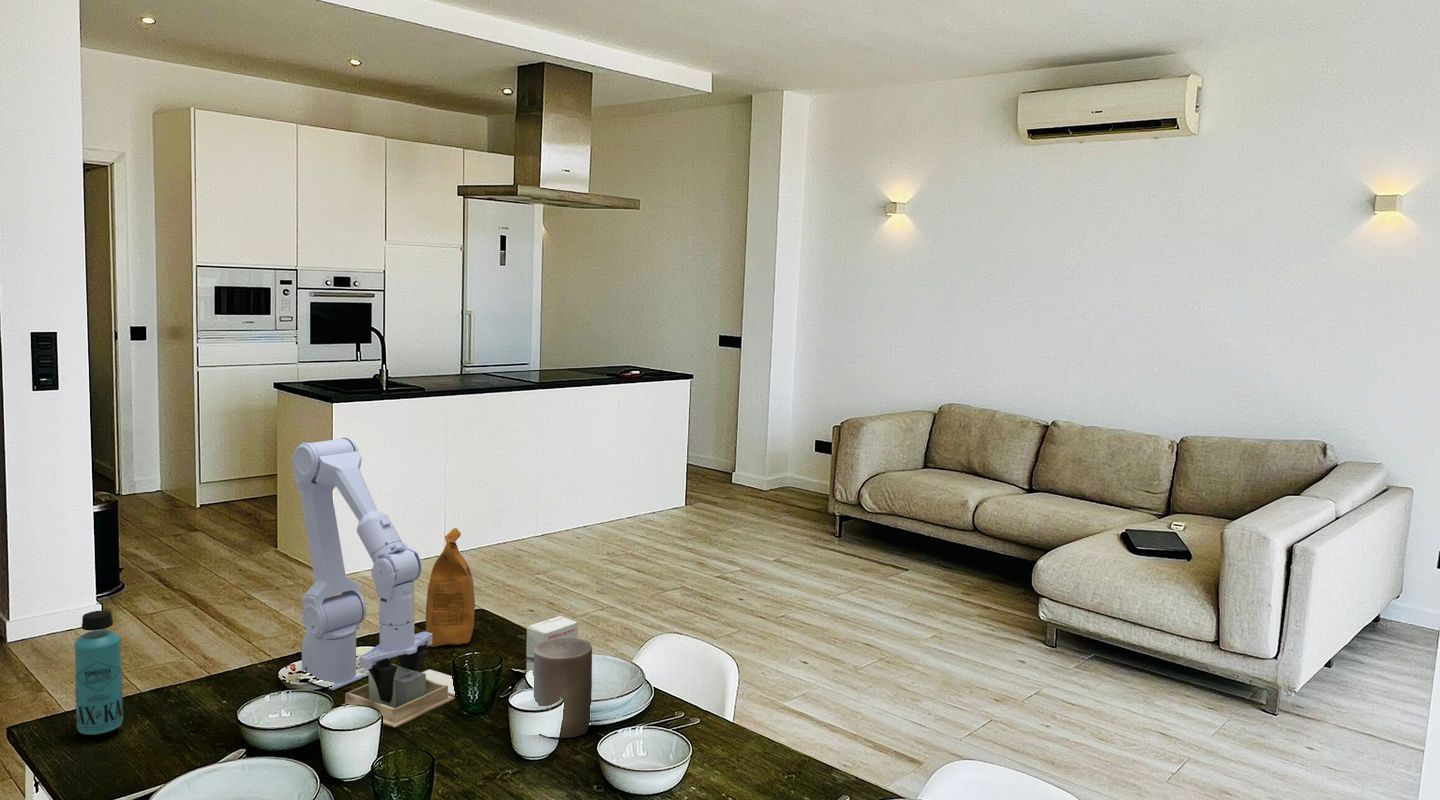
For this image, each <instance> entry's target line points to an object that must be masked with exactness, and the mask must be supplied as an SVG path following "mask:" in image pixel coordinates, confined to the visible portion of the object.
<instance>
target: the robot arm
mask: <svg viewBox="0 0 1440 800" xmlns="http://www.w3.org/2000/svg"><path fill="white" fill-rule="evenodd" d="M359 451H360V450H359V448H358V446H357V444H356V442H355V441H354V440H353V439H352V438H350V437H341V438H338V439H330V440H323V441H315V442H302V443H300V444H299V445H298V446H297V447H296V448H295V450H294V453H293V454H292V456H291V463H292V469H293V475H294V481H295V485H296V486H295V488H296V489H297V490H299V495H300V500H301V501H300V502H301V505H302V507H301V508H302V512H303V519H304V524H305V529H306V530H305V531H306V535H307V542H308V547H309V548H308V549H309V555H310V559H311V566H312V567H311V568H312V572H313V573H312V574H313V579H314V583H313V584H312V585H311V586H310V587H309V589H308V590H307V591H306V592H305V593H304V594H303V596H302V601H303V602H302V603H303V610H302V617H301V618H302V623H303V626H304V629H305V630H306V633H305V635H304V636H303V639H302V642H301V671H302V670H303V671H305V672H307V673H310V674H312V675H313V676H315V677H316V678H317V679H319V680H323V681H329V682H334V683H335V684H333V685H331V686H332V687H329V689H328V690H330V689H331V690H330V691H334V690H338V689H339V688H342V687H345V686H346V685H349V684H352V683H354V682H357V681H359V680H362V679H364V678H366V677H367V676H368V673H369V672H370V673H371V675H372V677H373V679H374V681H375V684H376V686H377V689H378V693H379V696H380V700H382V701H385V702H388V703H389V702H391V700H392V695H393V681H394V676H395V672H396V669H397V666H398V665H397V666H395V665H396V664H394V665H392V664H393V663H391V661H389V660H391V659H393V658H396V657H397V656H398V660H399V666H400V667H403V668H407V669H410V670H413V671H418V672H421V669H422V667H423V664H424V663H425V661H426V659H427V658H428V650H427V649H424V648H423V646H428V645H430V644H432V633H428V632H426V630H425V631H421V632H418V633H415V581H417V580H418V579H419V578H420V576H421V574H422V569H423V568H422V567H423V566H422V565H423V564H422V560H421V558H420V555H419V553H418V552H417V550H415V549H414V548H413V547H410V546H409V545H408V543H406V542H403V541H402V539H401V537H400V535H399V534H398V532H397V529H396V527H395V526H394V524H393V523H392V520H391V518H390V517H389V515H388V514H387V513H383V512H379V511H378V509H377V506H376V504H375V502H374V499H373V498H372V495H371V493H370V490H369V489H368V486H367V484H366V481H365V479H364V477H363V474H362V472H361V466H362V455H361V453H360V452H359ZM335 488H337V490H338V491H339V493H340V494H341V496H342V498H343V499H344V500H345V502H346V504H347V505H348V506H349V508H350V509H351V511H352V512H353V514H354V516H355V517H356V519H357V520H358V524H357V526H356V533H357V534H358V537H359V538H360V540H361V543H362V545H363V546H364V548H365V550H366V551H367V553H368V555H369V557H370V559H371V561H372V563H373V566H372V568H371V569H370V573H371V577H372V579H373V582H374V585H375V594H376V596H377V597H378V599H379V602H378V604H379V609H378V611H379V622H378V623H379V644H378V645H376V646H374V647H373V648H371V649H370V650H369V651H367V652H366V653H364V654H362V655H359V657H358V658H359V668H360V669H361V668H362V669H364V670H367V671H368V673H367V674H365V675H361V676H356V677H355V675H356V670H357V630H360V627H361V625H360V624H361V623H362V622H364V621H365V619H366V615H367V604H366V601H365V598H364V596H363V595H362V592H361V590H360V585H359V583H358V582H356V581H354V580H353V579H351V578H349V577H348V576H346V575H347V574H346V570H345V565H344V564H345V563H344V559H343V553H342V552H343V550H342V545H341V540H340V534H339V528H338V522H337V516H336V511H335V510H336V509H335V503H334V498H333V491H334V489H335ZM366 675H367V676H366ZM363 677H364V678H363Z"/></svg>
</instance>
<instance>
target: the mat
mask: <svg viewBox="0 0 1440 800" xmlns="http://www.w3.org/2000/svg"><path fill="white" fill-rule="evenodd" d="M421 673H425V674H426V679H428V680H431V681H434V682H437V683H440V684H444V685H447V686H448V695H449V696H452V697H455V691H454V686H453V679H452V675H449V674H447V673H443V672H440V671H436V670H432V669H426V670H425V671H422V672H421Z"/></svg>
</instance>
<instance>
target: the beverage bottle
mask: <svg viewBox="0 0 1440 800" xmlns="http://www.w3.org/2000/svg"><path fill="white" fill-rule="evenodd" d="M112 614H113V613H112V612H111V611H109V610H94V611H90V612H87V613H85V614H83V615H82V619H81V629H82V630H84V631H88V632H86V633H84V634H82V635H81V636H80V637H79V638H78V639H77V640H76V641H75V642H74V643H73V645H74V646H73V647H74V663H75V664H74V666H75V667H74V668H75V676H74V678H73V680H74V681H75V684H74V695H75V700H74V703H75V711H74V712H75V714H74V716H75V722H76V723H75V726H76V729H77V731H78V732H79V733H80V734H82V735H100V734H105V733H108V732H112V731H113V730H116V729H117V728H119V727H121V726H122V723H123V722H124V718H125V713H124V711H125V710H124V709H125V706H124V696H123V690H124V687H123V673H124V672H123V670H122V649H121V648H122V647H121V646H122V644H121V642H122V638H121V636H120V635H119V634H118V633H116V632H114V631H112V630H109V629H108V628H111V627H112V626H113V625H114V622H113V621H114V620H113V616H112Z"/></svg>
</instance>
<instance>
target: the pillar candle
mask: <svg viewBox="0 0 1440 800" xmlns="http://www.w3.org/2000/svg"><path fill="white" fill-rule="evenodd" d="M592 676H593V646H592V643H590V642H589V641H587V640H584V639H581V638H577V639H576V638H556V639H555V638H554V639H551V640H546V641H544V642H542V643H539V644H538V645H536V646H535V648H534V691H533V699H534V698H535V701H536V702H537V703H538V705H539V706H549V705H552V704H554V703H556V702H558V701H559V700H560V698H561V697H562V698H563V701H564V709H563V721H562V729H561V735H560V738H559V739H565V738H568V739H569V738H574V737H579V736H582V735H584V734H585V733H588V731H587V730H588V725H589V723H590V705H591V703H592V699H593V698H592V690H593V688H592V687H593V677H592ZM560 696H561V697H560Z"/></svg>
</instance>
